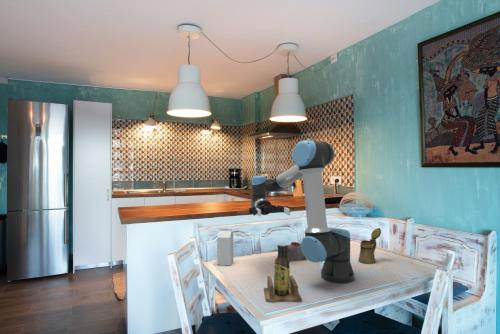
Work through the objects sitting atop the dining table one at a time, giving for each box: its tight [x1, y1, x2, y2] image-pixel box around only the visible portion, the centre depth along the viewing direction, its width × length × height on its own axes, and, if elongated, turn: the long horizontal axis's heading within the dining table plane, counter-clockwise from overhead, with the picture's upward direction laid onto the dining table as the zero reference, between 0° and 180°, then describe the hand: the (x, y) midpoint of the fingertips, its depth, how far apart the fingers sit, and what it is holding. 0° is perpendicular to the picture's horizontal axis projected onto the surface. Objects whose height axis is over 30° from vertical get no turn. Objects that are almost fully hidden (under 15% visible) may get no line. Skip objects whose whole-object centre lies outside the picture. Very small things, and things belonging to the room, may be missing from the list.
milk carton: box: [216, 228, 234, 267], centre depth 174 cm, size 7×7×19 cm
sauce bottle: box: [273, 243, 291, 295], centre depth 131 cm, size 6×6×20 cm
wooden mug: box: [357, 227, 382, 265], centre depth 178 cm, size 9×14×18 cm, turn 111°
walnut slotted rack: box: [263, 275, 303, 303], centre depth 131 cm, size 14×12×6 cm
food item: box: [287, 241, 307, 262], centre depth 182 cm, size 14×8×10 cm, turn 118°
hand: (274, 212), depth 144 cm, fingers open, 13 cm apart
